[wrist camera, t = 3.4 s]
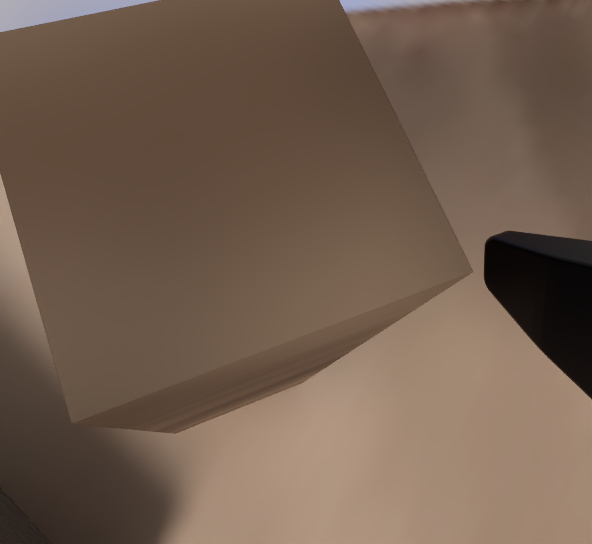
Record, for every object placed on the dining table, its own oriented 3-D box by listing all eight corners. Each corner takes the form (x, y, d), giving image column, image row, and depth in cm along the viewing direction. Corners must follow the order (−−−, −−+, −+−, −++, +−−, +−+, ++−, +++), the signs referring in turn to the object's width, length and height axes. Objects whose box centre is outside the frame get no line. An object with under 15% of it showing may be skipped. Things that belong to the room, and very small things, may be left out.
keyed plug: (302, 382, 18) (472, 271, 6) (174, 433, 17) (71, 423, 5) (244, 234, 19) (288, -101, 7) (122, 273, 18) (-61, -43, 6)
